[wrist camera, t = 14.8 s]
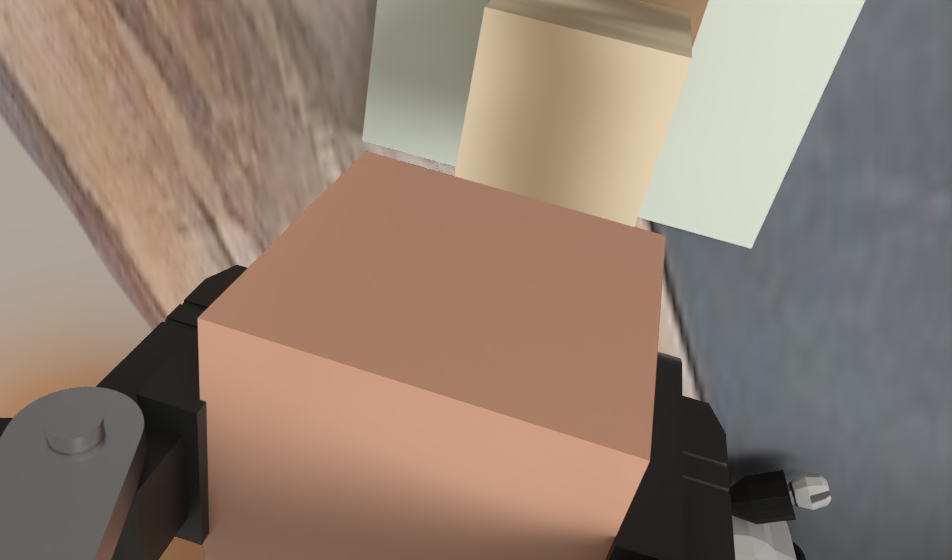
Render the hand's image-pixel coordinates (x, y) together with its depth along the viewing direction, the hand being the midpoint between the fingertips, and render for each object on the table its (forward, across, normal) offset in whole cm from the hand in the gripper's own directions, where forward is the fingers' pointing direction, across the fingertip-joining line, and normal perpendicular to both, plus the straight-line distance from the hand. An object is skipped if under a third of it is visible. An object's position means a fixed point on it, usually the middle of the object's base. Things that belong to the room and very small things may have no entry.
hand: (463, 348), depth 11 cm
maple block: (+14, 0, 0) cm, 14 cm away
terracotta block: (+1, 0, 0) cm, 1 cm away
